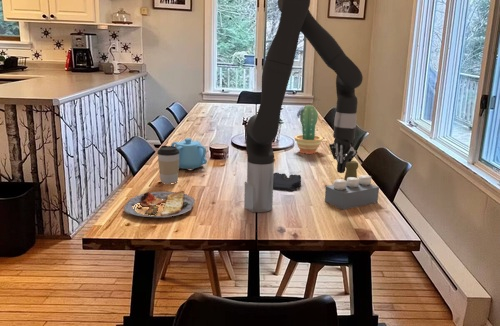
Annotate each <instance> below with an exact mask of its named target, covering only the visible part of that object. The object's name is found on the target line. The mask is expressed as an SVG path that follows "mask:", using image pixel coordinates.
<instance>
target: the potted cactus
mask: <svg viewBox="0 0 500 326" xmlns="http://www.w3.org/2000/svg"><path fill="white" fill-rule="evenodd" d="M318 115H319V113H318V111H317V109H316V107H315V106H314V105H305V106H304V107H300V109H299V110H298V112H297V113H296V117H297V119H299V120H300V124H301V130H302V134H298V135H294V140H295V141H296V145H297V148H299V149H298V150H299V153H301V154H304V153H306V154H307V155H309V154H310V155H314V154H316V153H317V150H318V149H319V147H320V145H321V143H322V142H323V141H324V138H323V136H319V135H316V133H315V132H316V125H317V122H318V117H319V116H318ZM313 153H314V154H313ZM306 154H305V155H306Z"/></svg>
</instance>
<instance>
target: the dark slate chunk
mask: <svg viewBox="0 0 500 326" xmlns="http://www.w3.org/2000/svg"><path fill="white" fill-rule="evenodd" d="M301 185H302V175H301V174H289V177H288V175H287V173H279V172H274V176H273V191H281V192H289V193H290V192H291V193H292V192H297V191H298V189H300V188H301Z"/></svg>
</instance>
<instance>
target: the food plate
mask: <svg viewBox="0 0 500 326" xmlns="http://www.w3.org/2000/svg"><path fill="white" fill-rule="evenodd" d="M162 199H163V200H162ZM195 202H196V200H195V198H194V197H192V196H190V195H189V194H187V193H185V191H183V190H181V191H178V192H177V191H167V190H165V191H163V190H162V191H153V192H152V191H147V192H145V193H141V194H140V195H136V196H134V197H131V198H130V199H128V201H127V202H126V204H125V205H124V206H123V212H125V213H126V214H129V215H134V216H138V217H145V218H147V217H148V218H171V217H172V216H173V217H175V216H179V215H182V214H186V213H187V212H190V211H191V210H192V209H193V206H194V204H195ZM137 203H140V205H141V206H142V207H149V209H148V210H146V211H144V214H143V213H141V212H139V213H137V212H136V211H135V207H136V205H135V204H137ZM161 203H165V205H164V207H163V211H162V213H161V212H160V215H157V214H158V213H157V211H158V208H159V207H158V206H156V205H160V204H161ZM134 205H135V207H134V209H133V207H132V206H134ZM137 205H138V204H137ZM161 205H162V204H161ZM156 213H157V214H156ZM145 214H148V215H145ZM155 214H156V215H155ZM149 215H150V216H149ZM151 215H155V216H151Z"/></svg>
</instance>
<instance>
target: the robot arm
mask: <svg viewBox="0 0 500 326" xmlns="http://www.w3.org/2000/svg"><path fill="white" fill-rule="evenodd" d="M310 5H311V0H277V6H278V10H279V12H280V16H279V17H280V18H279V23H278V26H277V30H276V33H275V35H274V37H273V40H272V41H271V44H270V46H269V48H268V50H267V53H266V56H265V60H264V65H263V68H262V72H261V97H260V103H259V107H258V111H257V113H256V114H253V115H252V116H251V117H250V118H249V119H248V121H247V123H246V127H245V147H246V148H245V150H246V151H245V152H246V156H247V160H246V161H247V165H246V167H247V168H246V171H247V172H246V174H247V175H246V181H244V201H243V203H244V205H243V207H244V208H245V209H246V210H248V211H250V212H251V213H266V212H271V210H273V202H274V201H273V199H274V190H273V176H274V173H275V172H274V169H275V153H274V150H273V141H274V140H275V139H276V137H277V136H278V132H279V124H280V119H281V118H280V117H281V112H282V107H283V102H284V99H285V96H286V93H287V89H288V85H289V81H290V78H291V75H292V70H293V67H294V62H295V58H296V53H297V49H298V44H299V39H300V35H301V34H302V35H303V36H304V38H306V40H307V41H308V43H309V44H310V45H311V46H312V47H313V49H314V50H315V51H316V54H317V55H319V57H320V58H321V60H322V61H323V63H325V65H326V66H327V67H328V68H329V69H331V70H332V71H333V72H334V73H335V75H336V78H335V88H336V89H335V90H336V98H337V99H336V108H335V109H336V110H335V116H334V124H333V136H332V137H333V138H334V140H333V143H329V145H328V147H329V150H330V152H331V154H332V158H333V159H334V160H336V162H337V167H336V171H337V173H339V174H344V173H346V167H345V166H346V163H347V162H351V161H353V159H354V158H355V157H356V156H357V154H358V150H356V149H354V144H353V143H354V142H353V141H354V140H355V138H356V131H357V121H358V120H357V111H358V110H357V109H358V98H357V96H356V94H355V89H357V88H359V87H360V86H361V84H362V83H363V78H364V76H363V73H362V72H361V70H360V68H359V67H358V66H357V64H355V62H354V61H353V60H352V59H351V58H350V57H348V55H346V53H345V52H344V50H343V49H342V47H341V45H339V43H338V42H337V41H336V39H335V38H334V36H332V34H330V32H328V31H327V30H326V29H325V28H324V27H323V26H322V25H321V24H320V22H318V20H317V19H316V18H315V17H314V15H312V13H311V11H310V9H309V8H310Z"/></svg>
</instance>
